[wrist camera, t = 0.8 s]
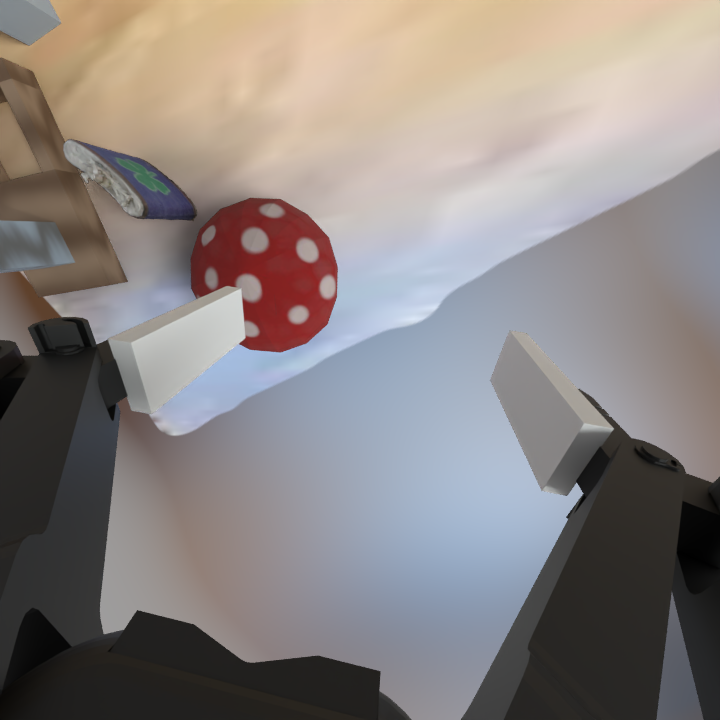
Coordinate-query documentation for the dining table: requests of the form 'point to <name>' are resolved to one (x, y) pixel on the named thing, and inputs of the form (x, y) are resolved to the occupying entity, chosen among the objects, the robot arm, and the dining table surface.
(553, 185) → the dining table surface
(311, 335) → the decorative mushroom
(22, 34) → the gray rectangular block
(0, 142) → the dining table surface
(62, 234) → the block insertion board
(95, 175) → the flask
